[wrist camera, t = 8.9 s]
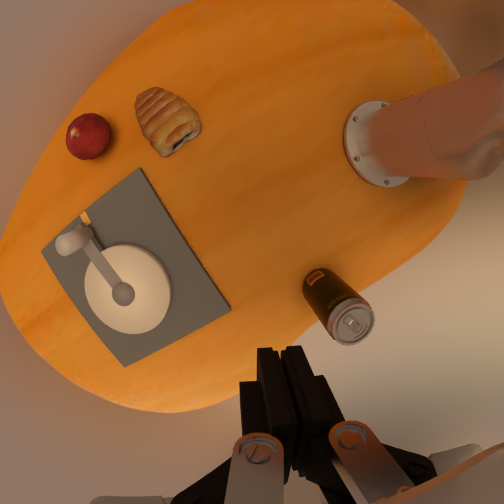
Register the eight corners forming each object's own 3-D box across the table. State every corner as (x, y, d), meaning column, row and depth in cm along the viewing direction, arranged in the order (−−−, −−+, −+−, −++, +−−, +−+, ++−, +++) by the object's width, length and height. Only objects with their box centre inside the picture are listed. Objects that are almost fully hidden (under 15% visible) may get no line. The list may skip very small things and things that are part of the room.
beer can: (293, 288, 38) (320, 330, 27) (320, 259, 38) (358, 291, 26) (318, 310, 40) (350, 355, 28) (344, 283, 39) (385, 319, 27)
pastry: (125, 112, 31) (116, 105, 27) (165, 79, 30) (159, 68, 27) (166, 162, 33) (160, 159, 30) (208, 127, 33) (206, 121, 29)
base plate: (141, 168, 33) (138, 167, 32) (231, 307, 38) (231, 311, 37) (44, 249, 34) (40, 251, 33) (126, 363, 39) (124, 368, 38)
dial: (190, 298, 36) (183, 323, 29) (128, 340, 37) (113, 368, 30) (113, 196, 32) (89, 200, 25) (58, 251, 33) (31, 264, 26)
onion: (75, 142, 31) (44, 135, 23) (103, 111, 30) (76, 96, 22) (98, 169, 32) (68, 168, 24) (127, 138, 32) (102, 127, 24)
